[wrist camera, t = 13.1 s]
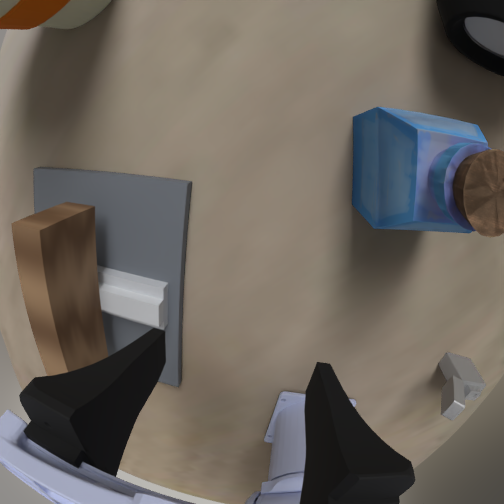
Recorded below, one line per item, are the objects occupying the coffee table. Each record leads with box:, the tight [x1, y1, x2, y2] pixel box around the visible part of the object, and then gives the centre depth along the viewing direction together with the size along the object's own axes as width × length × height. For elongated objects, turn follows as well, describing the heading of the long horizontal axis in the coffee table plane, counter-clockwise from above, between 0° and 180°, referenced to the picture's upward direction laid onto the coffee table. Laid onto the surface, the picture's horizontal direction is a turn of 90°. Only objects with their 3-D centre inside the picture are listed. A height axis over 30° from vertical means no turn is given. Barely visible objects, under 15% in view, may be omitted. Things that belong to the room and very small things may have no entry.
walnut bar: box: [12, 202, 108, 376], centre depth 20 cm, size 16×3×6 cm, turn 171°
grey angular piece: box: [438, 352, 486, 420], centre depth 20 cm, size 7×2×8 cm, turn 71°
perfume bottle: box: [352, 107, 504, 237], centre depth 13 cm, size 6×6×12 cm
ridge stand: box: [34, 167, 192, 387], centre depth 24 cm, size 20×16×3 cm
